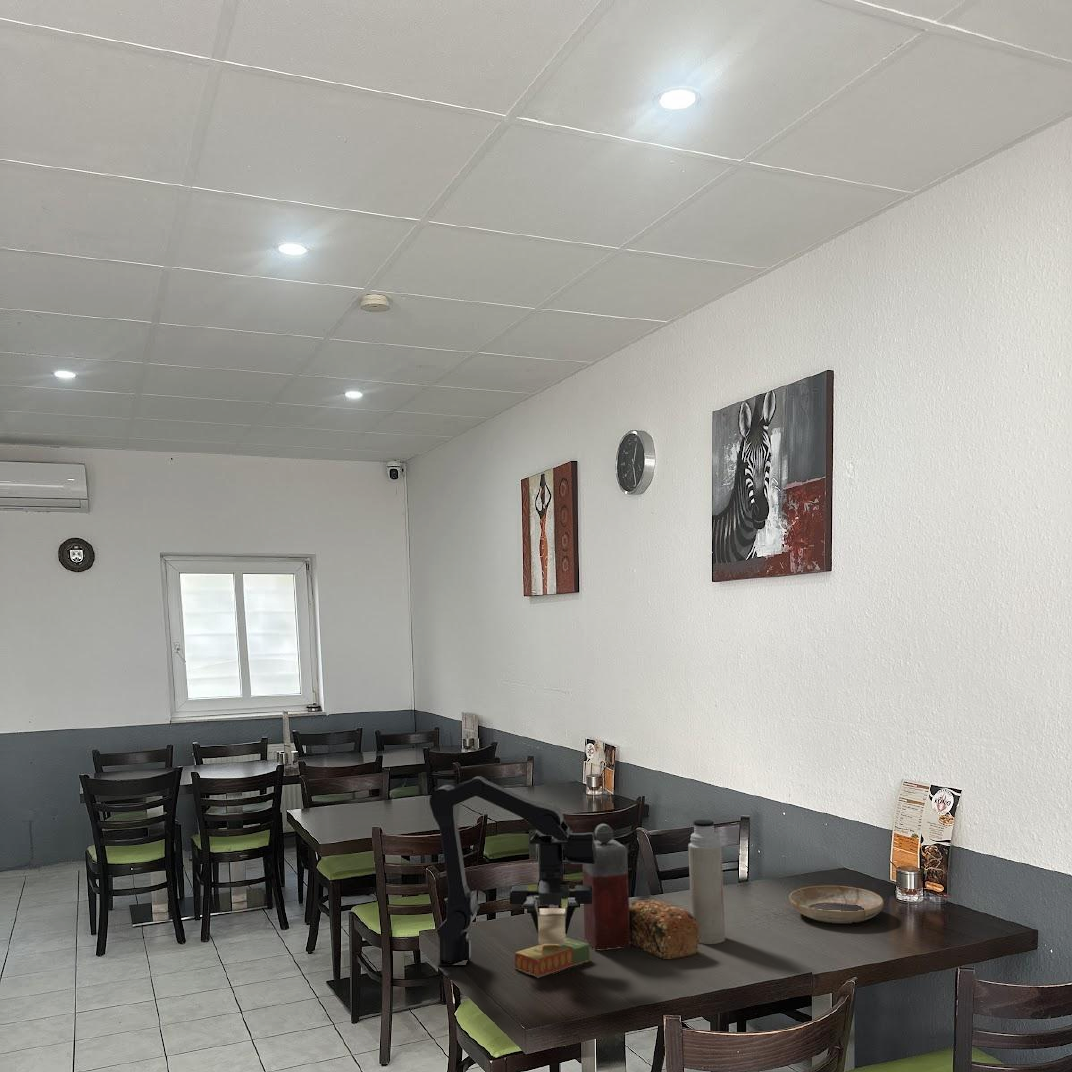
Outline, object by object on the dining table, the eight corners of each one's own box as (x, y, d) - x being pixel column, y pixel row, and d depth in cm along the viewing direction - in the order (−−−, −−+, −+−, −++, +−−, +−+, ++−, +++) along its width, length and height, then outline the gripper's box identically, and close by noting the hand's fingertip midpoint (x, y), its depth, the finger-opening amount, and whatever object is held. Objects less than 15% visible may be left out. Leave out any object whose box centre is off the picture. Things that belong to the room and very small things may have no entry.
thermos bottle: (725, 934, 233) (720, 817, 236) (725, 944, 225) (720, 824, 228) (692, 933, 235) (688, 817, 237) (691, 943, 227) (686, 823, 230)
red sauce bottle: (615, 933, 236) (612, 818, 239) (630, 947, 225) (626, 826, 228) (581, 936, 234) (578, 820, 237) (594, 951, 223) (591, 829, 226)
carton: (514, 971, 212) (513, 951, 213) (566, 954, 223) (565, 935, 223) (538, 980, 206) (537, 959, 206) (591, 962, 216) (590, 942, 217)
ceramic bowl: (781, 904, 257) (780, 885, 258) (868, 903, 257) (867, 884, 257) (801, 931, 234) (800, 910, 235) (897, 930, 233) (896, 909, 234)
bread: (701, 955, 219) (699, 910, 220) (662, 962, 214) (660, 917, 215) (657, 933, 236) (655, 891, 237) (620, 939, 231) (619, 897, 232)
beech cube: (538, 943, 212) (537, 916, 213) (540, 935, 218) (539, 908, 219) (565, 943, 212) (564, 916, 212) (566, 935, 218) (565, 908, 218)
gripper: (506, 872, 209) (508, 945, 208) (591, 871, 208) (593, 945, 206) (511, 860, 220) (512, 929, 219) (591, 859, 219) (593, 929, 218)
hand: (552, 933), depth 215 cm, fingers closed on beech cube, 6 cm apart
